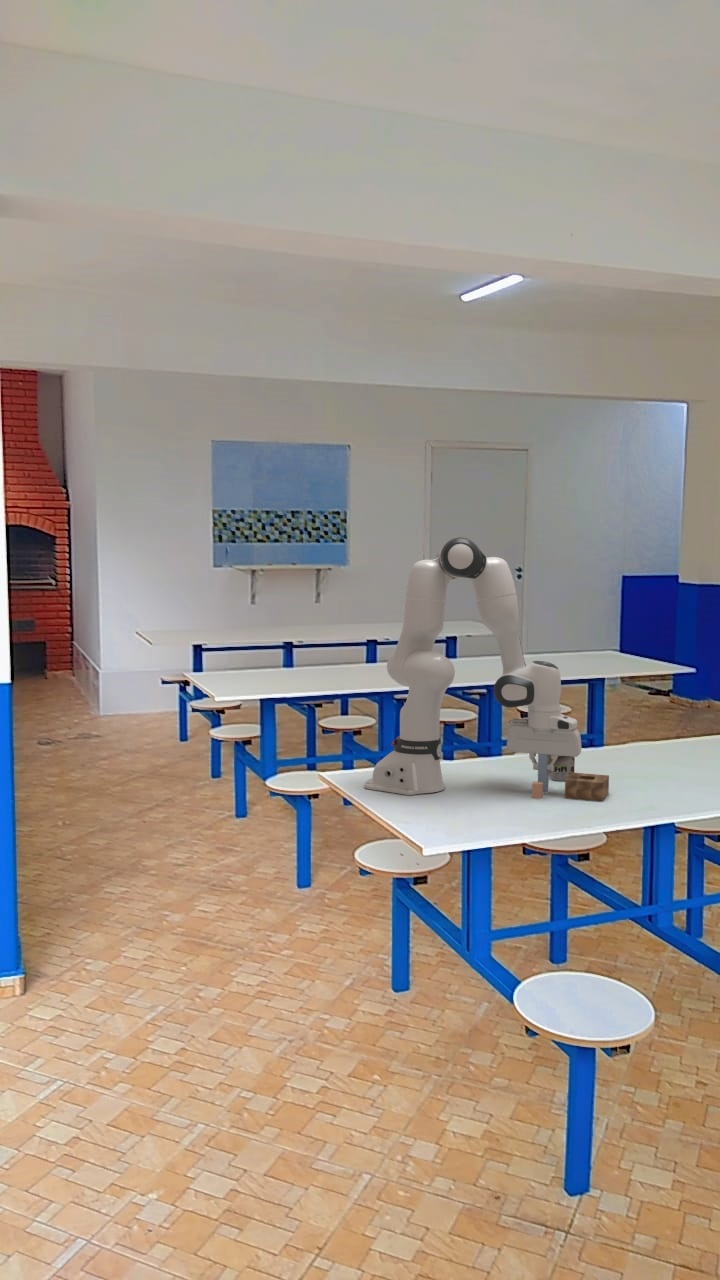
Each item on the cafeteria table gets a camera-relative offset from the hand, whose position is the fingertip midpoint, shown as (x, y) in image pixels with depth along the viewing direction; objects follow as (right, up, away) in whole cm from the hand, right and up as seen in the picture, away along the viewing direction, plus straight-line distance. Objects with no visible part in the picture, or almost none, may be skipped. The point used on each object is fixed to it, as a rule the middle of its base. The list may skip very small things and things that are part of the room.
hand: (543, 770), depth 277 cm
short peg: (-3, -7, -6) cm, 9 cm away
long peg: (0, -6, +1) cm, 6 cm away
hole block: (+11, -7, -4) cm, 13 cm away
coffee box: (+9, -5, +19) cm, 21 cm away
